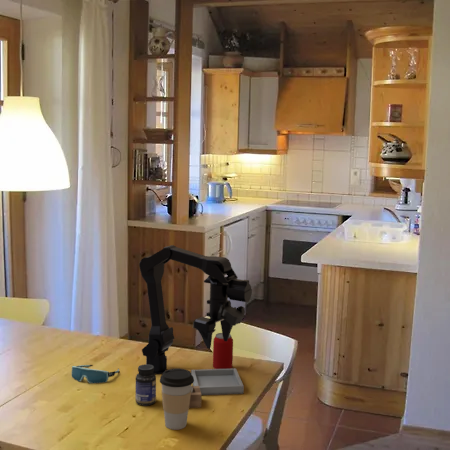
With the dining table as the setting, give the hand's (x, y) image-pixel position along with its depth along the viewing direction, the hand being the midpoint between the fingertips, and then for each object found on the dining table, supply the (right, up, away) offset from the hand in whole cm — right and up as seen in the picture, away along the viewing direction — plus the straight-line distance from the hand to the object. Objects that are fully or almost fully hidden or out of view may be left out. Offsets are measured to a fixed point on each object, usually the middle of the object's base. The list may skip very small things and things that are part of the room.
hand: (217, 344), depth 207 cm
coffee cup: (-11, -17, -28) cm, 34 cm away
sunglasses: (-41, -12, +7) cm, 43 cm away
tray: (0, -13, +1) cm, 13 cm away
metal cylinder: (-8, -15, -13) cm, 22 cm away
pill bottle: (-21, -15, -13) cm, 29 cm away
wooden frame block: (-8, -15, -13) cm, 22 cm away
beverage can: (+2, -11, +15) cm, 19 cm away
